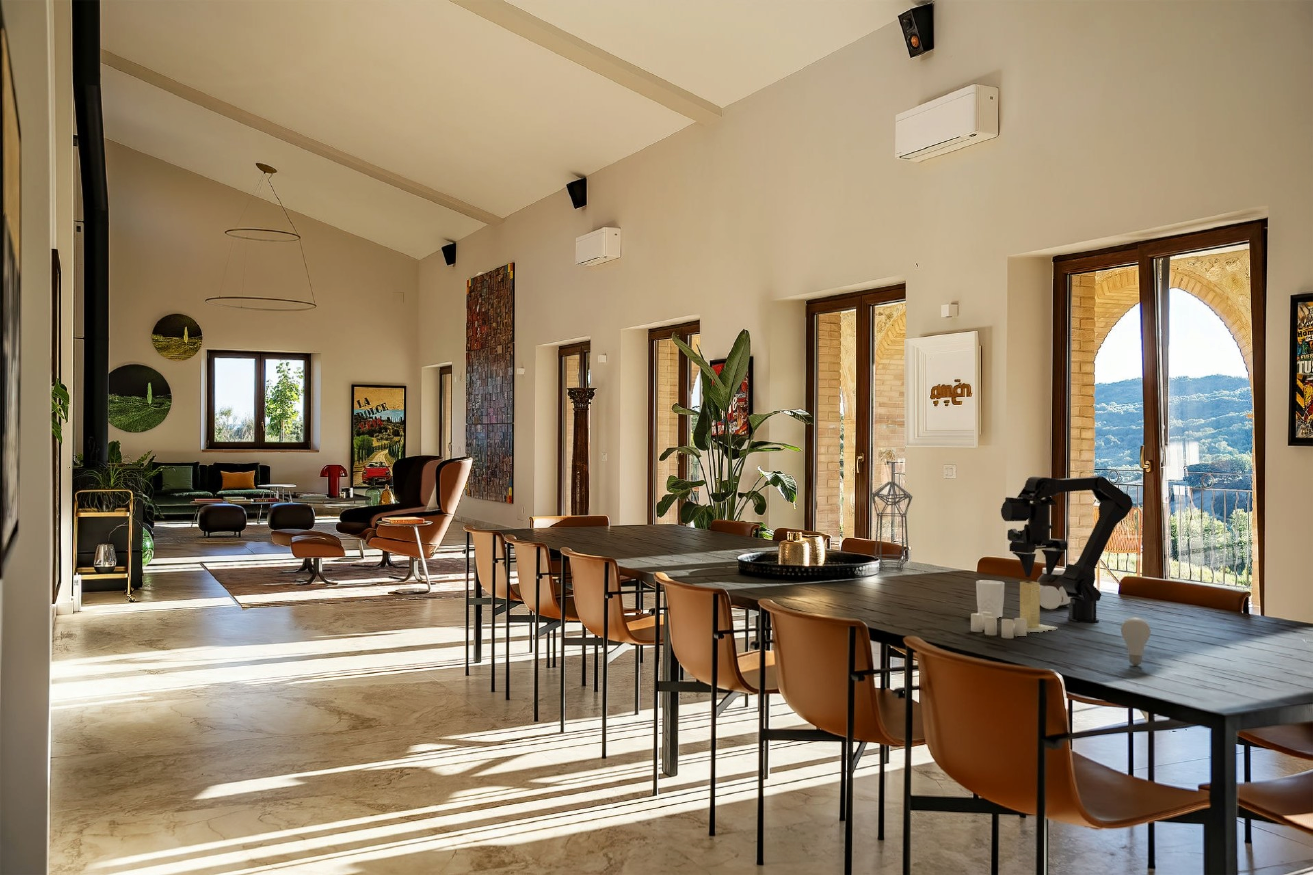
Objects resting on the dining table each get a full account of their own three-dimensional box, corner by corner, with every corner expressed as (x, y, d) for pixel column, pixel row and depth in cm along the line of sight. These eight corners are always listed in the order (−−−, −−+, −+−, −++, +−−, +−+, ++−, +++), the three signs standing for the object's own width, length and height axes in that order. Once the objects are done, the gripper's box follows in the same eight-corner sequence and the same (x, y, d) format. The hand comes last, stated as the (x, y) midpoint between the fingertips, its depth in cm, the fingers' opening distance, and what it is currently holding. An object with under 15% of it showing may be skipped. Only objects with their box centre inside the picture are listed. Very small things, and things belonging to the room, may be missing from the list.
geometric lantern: (910, 567, 407) (910, 480, 407) (912, 572, 391) (912, 482, 391) (870, 566, 410) (870, 480, 410) (871, 571, 394) (871, 481, 394)
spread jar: (1064, 604, 317) (1064, 567, 317) (1080, 610, 306) (1081, 572, 306) (1026, 604, 316) (1027, 567, 317) (1041, 610, 305) (1041, 571, 305)
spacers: (985, 627, 276) (985, 611, 276) (1028, 636, 264) (1028, 619, 264) (965, 630, 272) (965, 613, 272) (1008, 639, 260) (1008, 621, 260)
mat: (1026, 623, 282) (1026, 621, 282) (1057, 629, 274) (1057, 627, 274) (1003, 627, 277) (1003, 624, 277) (1033, 633, 269) (1033, 630, 269)
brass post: (1028, 624, 278) (1028, 581, 278) (1039, 626, 275) (1039, 582, 275) (1019, 625, 276) (1019, 582, 276) (1030, 627, 273) (1031, 583, 273)
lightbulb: (1115, 662, 233) (1115, 615, 233) (1140, 662, 233) (1140, 615, 233) (1130, 668, 227) (1130, 620, 227) (1155, 668, 227) (1156, 619, 227)
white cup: (1006, 619, 290) (1006, 584, 290) (977, 617, 291) (977, 583, 291) (1002, 614, 298) (1002, 580, 298) (974, 613, 299) (974, 579, 299)
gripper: (1035, 517, 297) (1035, 570, 297) (993, 520, 287) (993, 575, 287) (1069, 520, 288) (1068, 575, 288) (1026, 523, 278) (1026, 579, 277)
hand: (1038, 576), depth 285 cm, fingers open, 9 cm apart
